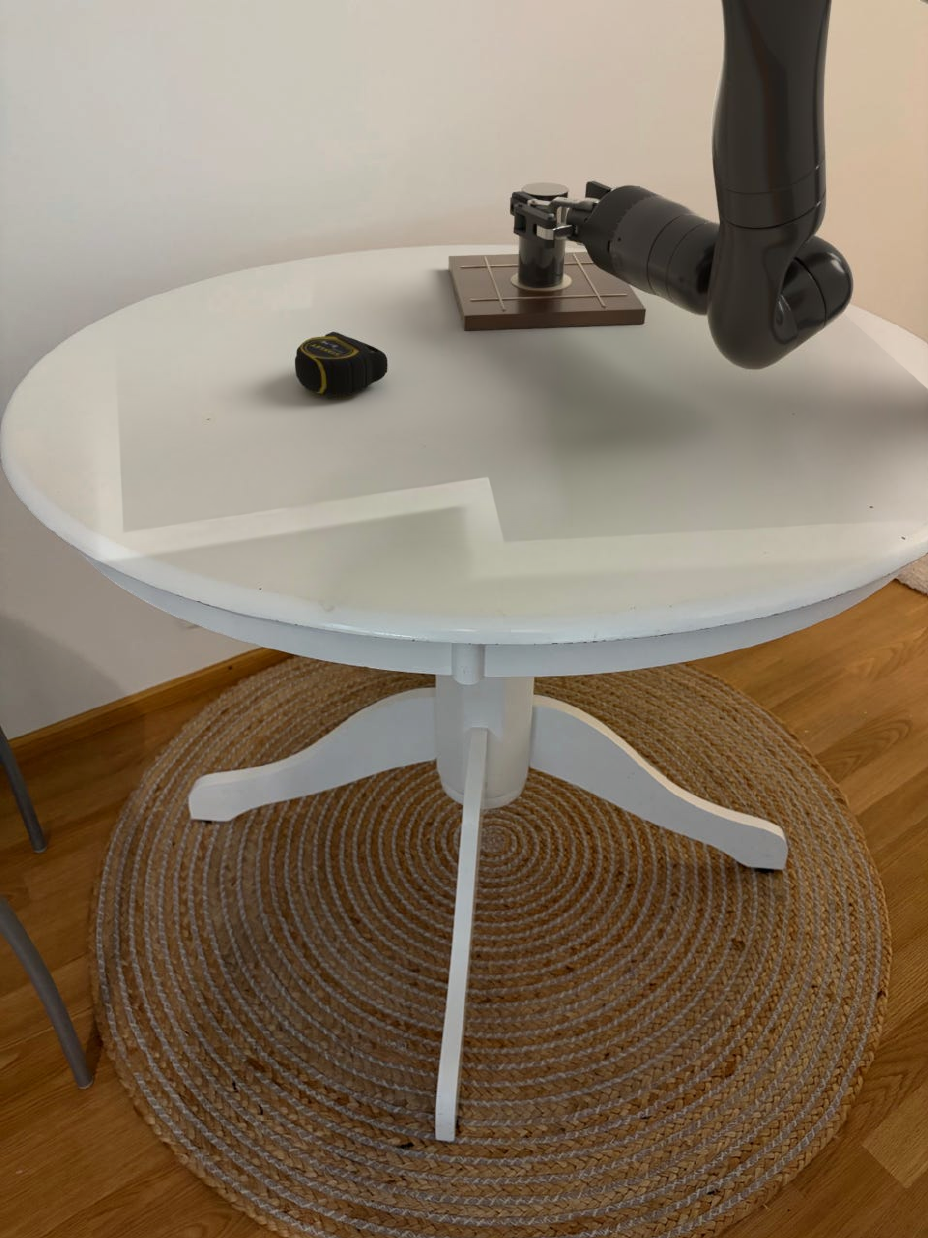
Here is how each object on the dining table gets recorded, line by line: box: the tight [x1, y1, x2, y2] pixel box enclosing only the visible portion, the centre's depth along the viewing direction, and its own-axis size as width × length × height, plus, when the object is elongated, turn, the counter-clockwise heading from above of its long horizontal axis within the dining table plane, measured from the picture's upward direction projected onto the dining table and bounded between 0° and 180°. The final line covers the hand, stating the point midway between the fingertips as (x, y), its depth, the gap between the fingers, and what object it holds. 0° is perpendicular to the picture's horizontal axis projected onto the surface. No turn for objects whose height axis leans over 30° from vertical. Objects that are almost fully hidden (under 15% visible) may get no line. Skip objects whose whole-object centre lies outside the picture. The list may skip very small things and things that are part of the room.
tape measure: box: [294, 331, 389, 397], centre depth 82 cm, size 7×7×4 cm
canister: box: [517, 182, 570, 288], centre depth 97 cm, size 5×5×9 cm
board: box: [448, 251, 647, 331], centre depth 100 cm, size 18×18×2 cm
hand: (551, 196), depth 94 cm, fingers open, 8 cm apart
